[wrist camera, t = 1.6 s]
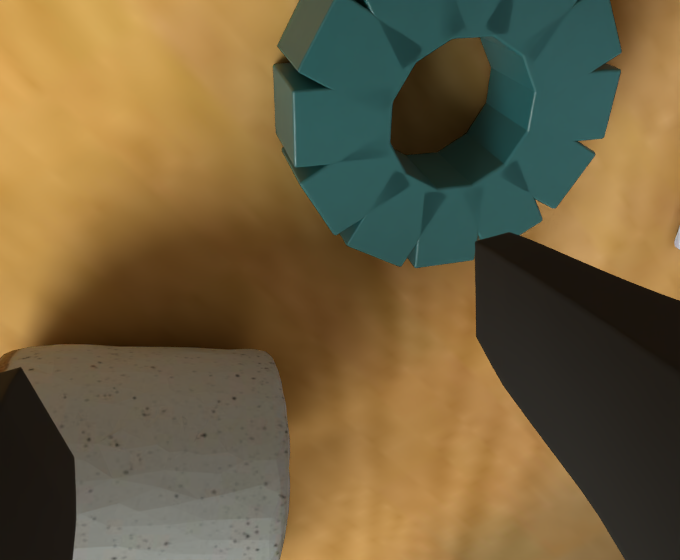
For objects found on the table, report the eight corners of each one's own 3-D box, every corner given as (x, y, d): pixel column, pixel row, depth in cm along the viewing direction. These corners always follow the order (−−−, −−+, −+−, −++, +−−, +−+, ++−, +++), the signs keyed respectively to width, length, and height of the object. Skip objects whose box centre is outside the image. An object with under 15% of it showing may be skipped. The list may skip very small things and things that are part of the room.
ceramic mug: (-10, 291, 18) (-81, 513, 12) (265, 302, 21) (319, 487, 15) (3, 525, 24) (-42, 762, 18) (222, 509, 26) (249, 708, 20)
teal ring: (597, -90, 17) (662, -84, 15) (535, 210, 22) (577, 246, 20) (265, -91, 15) (287, -84, 13) (279, 242, 20) (297, 285, 18)
